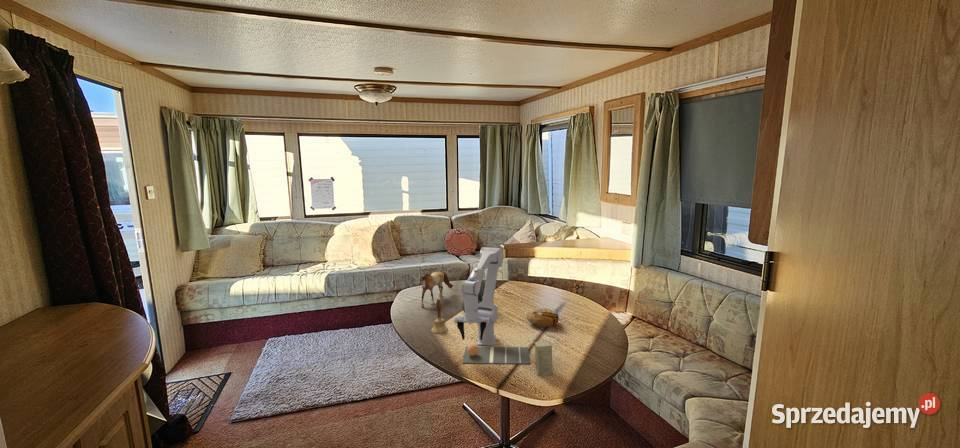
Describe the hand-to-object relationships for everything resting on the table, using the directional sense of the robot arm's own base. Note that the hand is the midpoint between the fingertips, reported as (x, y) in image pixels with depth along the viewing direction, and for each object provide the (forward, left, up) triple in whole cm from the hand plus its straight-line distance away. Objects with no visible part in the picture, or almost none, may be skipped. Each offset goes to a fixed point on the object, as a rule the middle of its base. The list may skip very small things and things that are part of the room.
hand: (472, 338), depth 166 cm
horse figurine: (-65, -26, -8) cm, 71 cm away
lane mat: (-1, +10, -8) cm, 13 cm away
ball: (0, 0, -5) cm, 5 cm away
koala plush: (-52, -2, -9) cm, 53 cm away
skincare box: (+12, +29, -8) cm, 32 cm away
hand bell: (-26, -19, -8) cm, 33 cm away
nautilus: (-31, +34, -9) cm, 47 cm away
